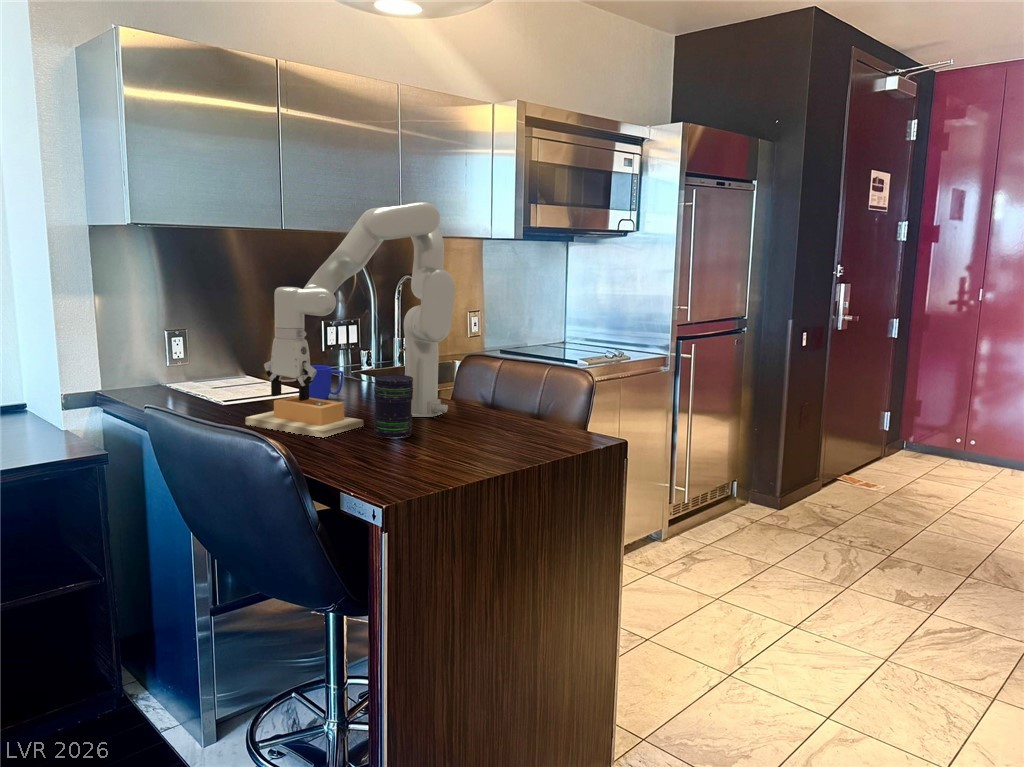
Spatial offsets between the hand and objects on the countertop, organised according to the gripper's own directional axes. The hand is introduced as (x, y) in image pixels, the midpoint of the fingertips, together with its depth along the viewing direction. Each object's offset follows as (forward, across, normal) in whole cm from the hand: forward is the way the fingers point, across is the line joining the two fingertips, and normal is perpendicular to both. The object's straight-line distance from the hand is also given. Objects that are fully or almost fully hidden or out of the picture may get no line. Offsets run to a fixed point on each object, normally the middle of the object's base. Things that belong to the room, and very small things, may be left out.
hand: (290, 397), depth 203 cm
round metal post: (+5, -10, 0) cm, 11 cm away
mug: (+7, +14, -30) cm, 34 cm away
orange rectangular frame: (+5, -7, 0) cm, 8 cm away
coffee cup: (+7, +46, -48) cm, 67 cm away
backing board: (+7, -6, +1) cm, 9 cm away
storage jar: (+7, -30, -5) cm, 31 cm away
